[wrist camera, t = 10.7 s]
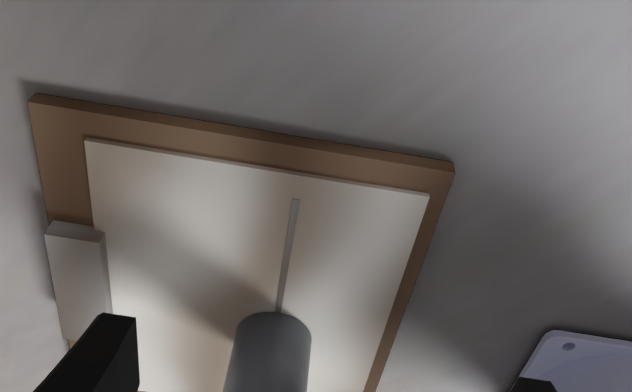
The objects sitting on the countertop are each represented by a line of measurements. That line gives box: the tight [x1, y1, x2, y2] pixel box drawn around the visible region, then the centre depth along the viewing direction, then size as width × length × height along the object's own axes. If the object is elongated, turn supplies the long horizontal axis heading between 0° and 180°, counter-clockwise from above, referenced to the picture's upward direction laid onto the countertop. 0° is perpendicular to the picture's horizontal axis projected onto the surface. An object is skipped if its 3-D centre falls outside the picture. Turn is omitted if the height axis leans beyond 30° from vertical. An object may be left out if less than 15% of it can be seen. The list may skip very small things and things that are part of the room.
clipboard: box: [27, 93, 455, 392], centre depth 24 cm, size 14×16×1 cm
